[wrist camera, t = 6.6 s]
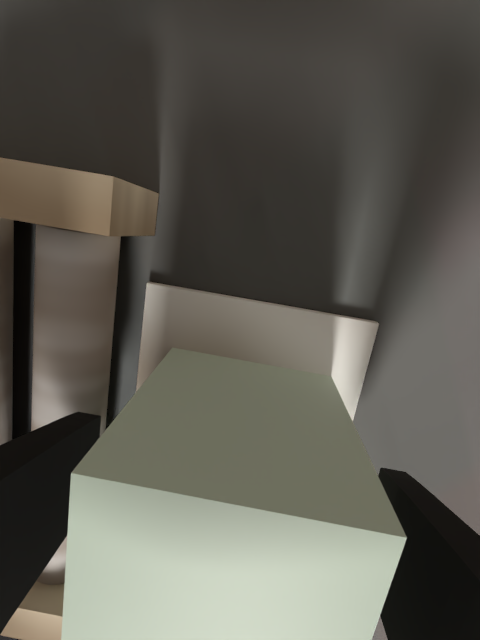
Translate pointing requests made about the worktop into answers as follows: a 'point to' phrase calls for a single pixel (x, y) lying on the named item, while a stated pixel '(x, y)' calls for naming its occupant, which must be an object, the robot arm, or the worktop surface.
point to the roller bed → (157, 331)
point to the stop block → (228, 512)
